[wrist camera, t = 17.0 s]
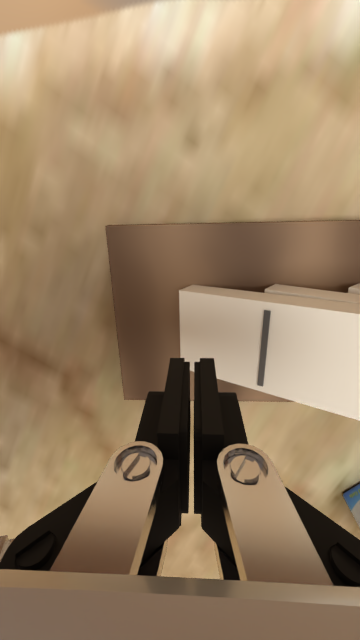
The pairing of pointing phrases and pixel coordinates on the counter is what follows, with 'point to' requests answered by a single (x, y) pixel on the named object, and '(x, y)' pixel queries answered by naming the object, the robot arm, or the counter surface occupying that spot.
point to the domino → (276, 344)
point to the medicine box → (354, 502)
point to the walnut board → (212, 281)
